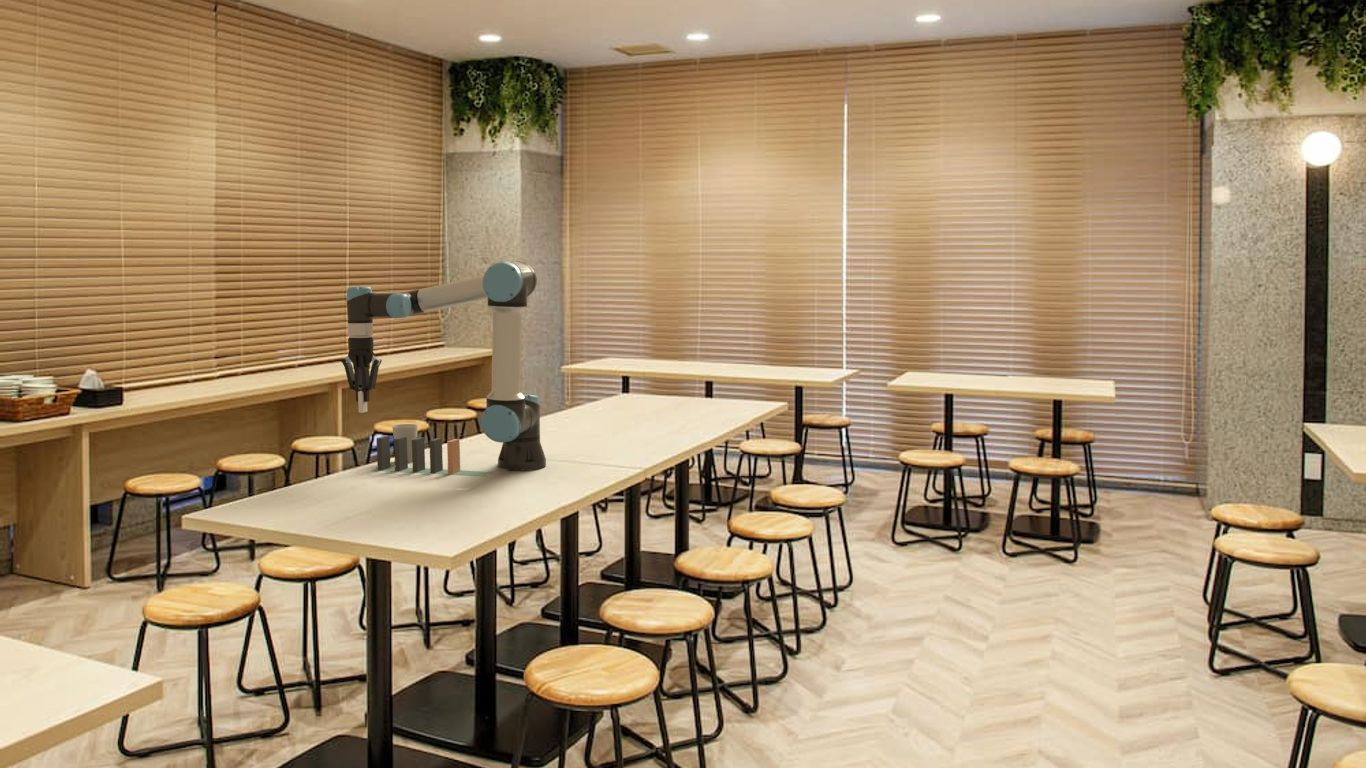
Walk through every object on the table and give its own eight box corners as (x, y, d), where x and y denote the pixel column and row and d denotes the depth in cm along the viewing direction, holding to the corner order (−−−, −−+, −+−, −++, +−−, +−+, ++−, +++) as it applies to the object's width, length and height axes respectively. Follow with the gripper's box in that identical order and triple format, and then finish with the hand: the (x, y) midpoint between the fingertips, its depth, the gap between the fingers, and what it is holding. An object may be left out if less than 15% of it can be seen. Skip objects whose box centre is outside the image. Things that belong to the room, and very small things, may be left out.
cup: (412, 465, 344) (411, 428, 343) (389, 464, 346) (387, 427, 345) (423, 460, 352) (422, 424, 351) (400, 459, 354) (399, 423, 352)
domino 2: (407, 468, 337) (406, 436, 336) (399, 471, 332) (398, 439, 331) (403, 468, 338) (402, 436, 337) (395, 471, 333) (394, 439, 332)
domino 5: (460, 471, 333) (459, 439, 332) (452, 474, 328) (451, 441, 327) (455, 470, 333) (454, 438, 332) (448, 473, 328) (447, 441, 327)
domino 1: (390, 467, 339) (389, 435, 338) (382, 470, 334) (381, 438, 333) (385, 467, 339) (384, 435, 338) (377, 470, 334) (376, 438, 333)
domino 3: (425, 469, 336) (424, 437, 335) (417, 472, 331) (416, 440, 330) (420, 468, 336) (419, 437, 335) (412, 472, 331) (411, 439, 330)
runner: (493, 473, 331) (493, 472, 331) (484, 477, 324) (484, 476, 324) (382, 467, 341) (382, 466, 341) (371, 471, 334) (371, 470, 334)
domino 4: (442, 470, 334) (441, 438, 333) (435, 473, 330) (434, 440, 328) (438, 469, 335) (437, 438, 334) (430, 472, 330) (429, 440, 329)
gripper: (385, 336, 335) (388, 411, 338) (348, 335, 339) (351, 409, 341) (373, 337, 328) (375, 414, 331) (335, 337, 331) (337, 412, 334)
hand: (363, 412), depth 336 cm, fingers closed
